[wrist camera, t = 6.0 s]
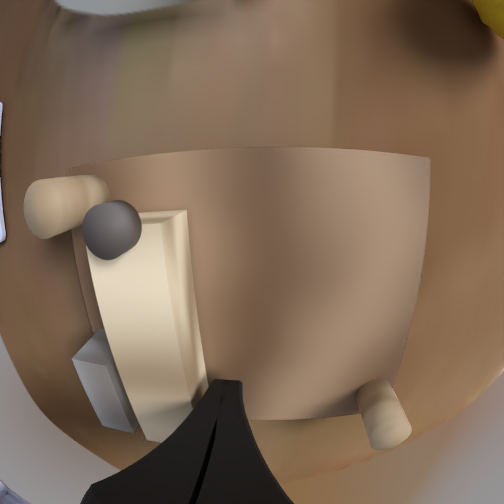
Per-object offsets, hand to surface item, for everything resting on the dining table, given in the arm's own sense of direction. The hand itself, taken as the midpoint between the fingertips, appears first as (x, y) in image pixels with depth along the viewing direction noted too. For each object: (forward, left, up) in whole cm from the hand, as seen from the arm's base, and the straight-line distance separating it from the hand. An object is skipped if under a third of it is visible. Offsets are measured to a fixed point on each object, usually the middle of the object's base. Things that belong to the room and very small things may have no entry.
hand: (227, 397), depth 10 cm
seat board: (+1, +3, -2) cm, 4 cm away
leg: (-2, +3, -1) cm, 4 cm away
